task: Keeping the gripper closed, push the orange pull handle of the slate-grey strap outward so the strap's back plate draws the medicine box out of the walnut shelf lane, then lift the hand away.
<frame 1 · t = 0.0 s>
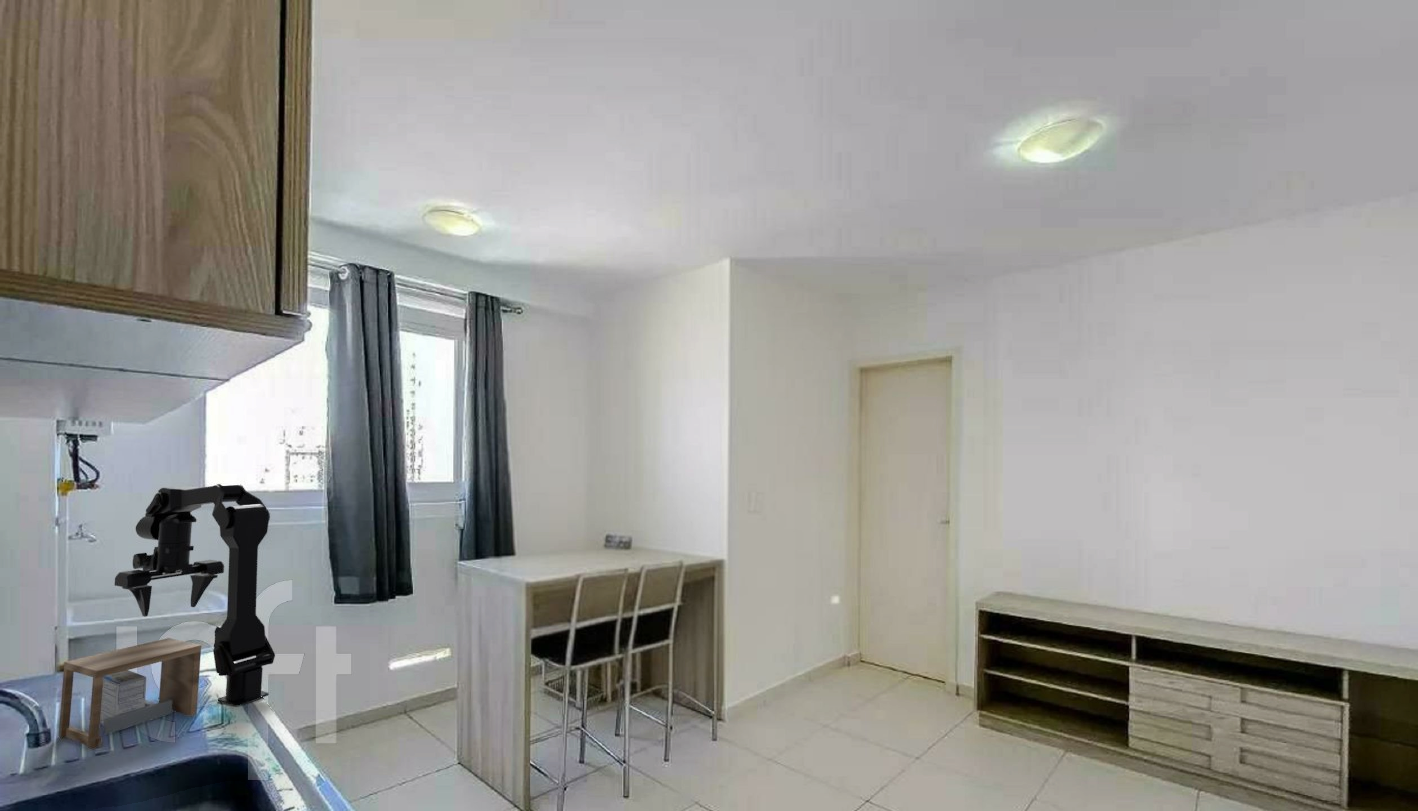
hand: (169, 611, 143), 15 cm above the counter, tool pointing down, fingers open, 9 cm apart
medicine box: (119, 724, 119), on the counter
walnut shelf: (123, 723, 119), on the counter
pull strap: (111, 696, 123), point 3 cm above the counter, slide at 0.0 cm
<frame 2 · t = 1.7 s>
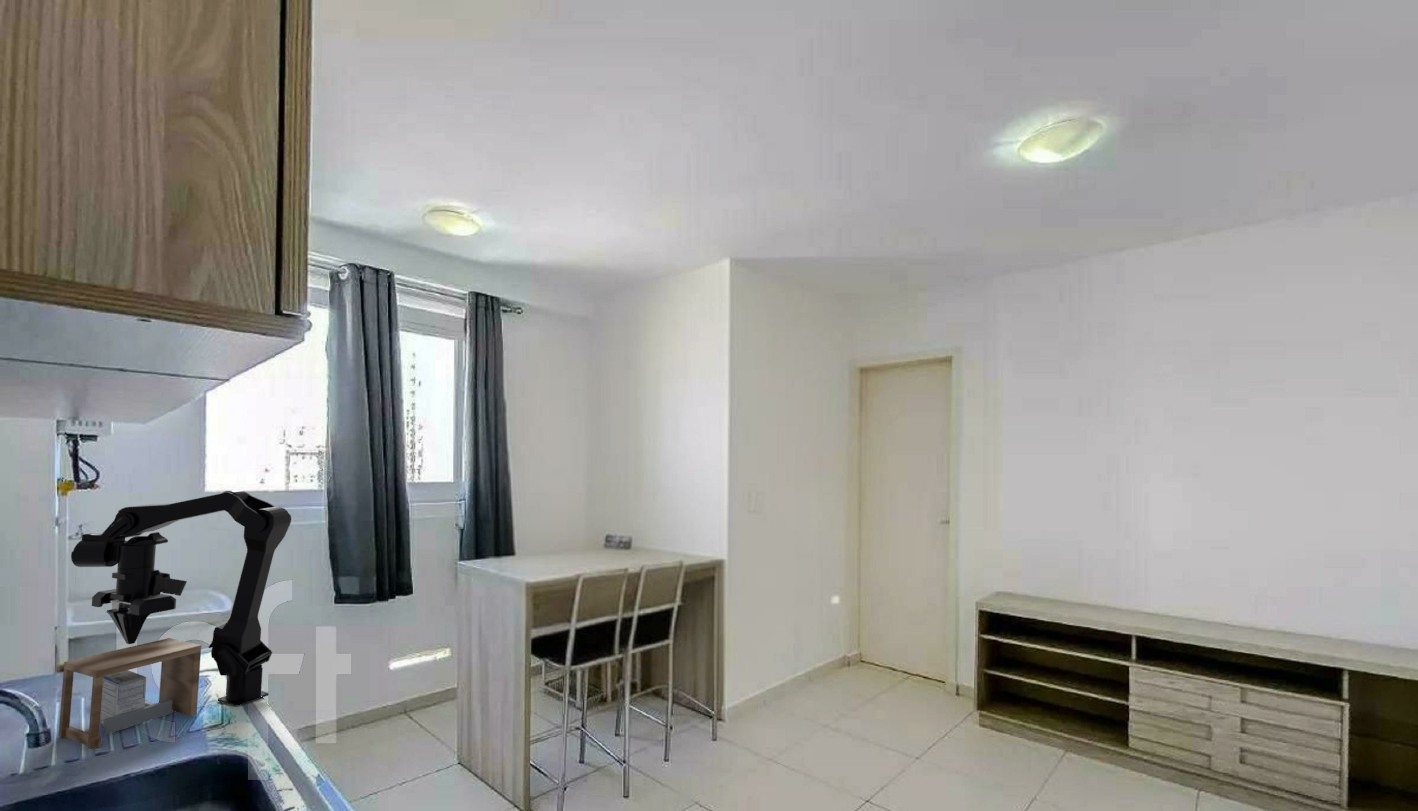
hand: (130, 643, 129), 12 cm above the counter, tool pointing down, fingers closed
nothing on the counter moved.
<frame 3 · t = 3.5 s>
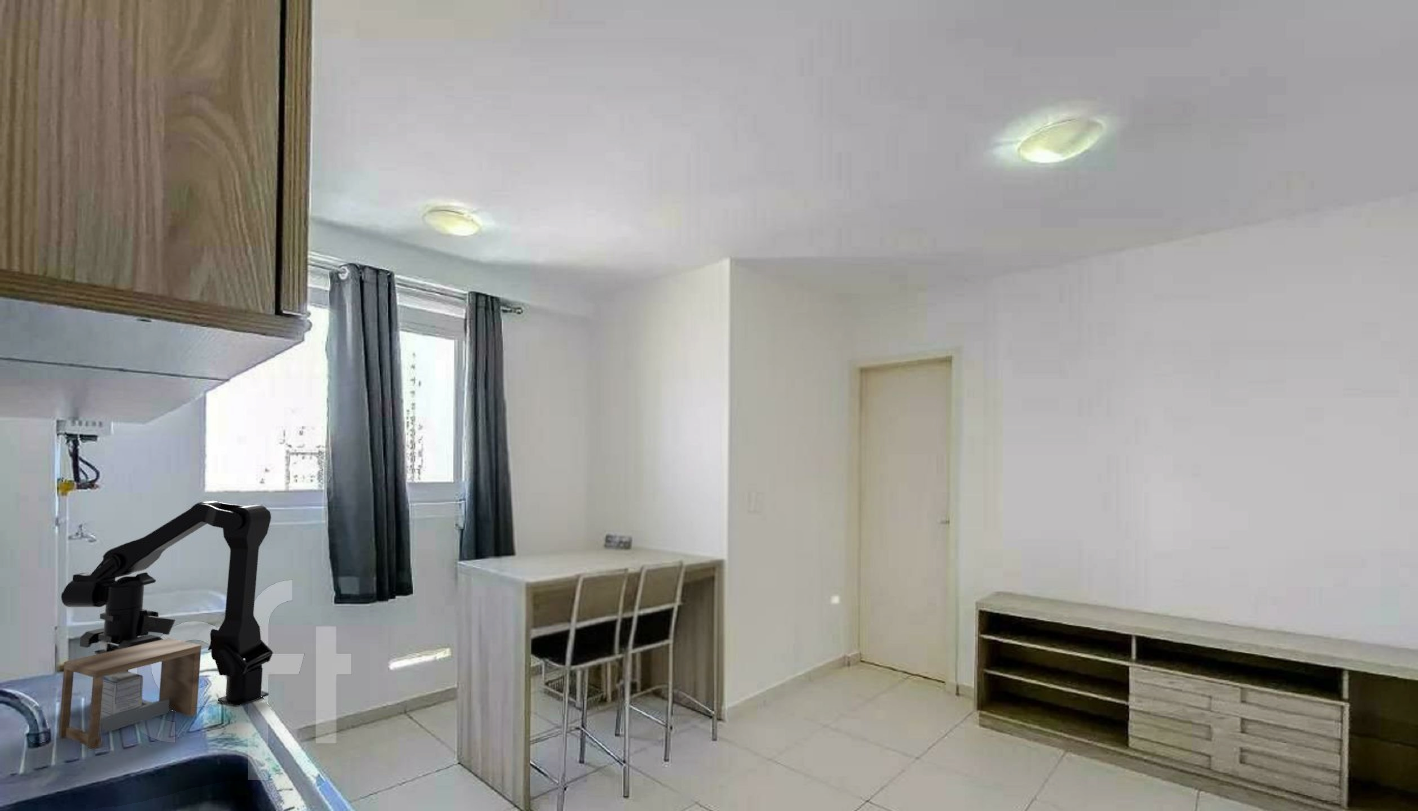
hand: (118, 684, 130), 3 cm above the counter, tool pointing down, fingers closed
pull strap: (108, 695, 123), point 3 cm above the counter, slide at 1.0 cm, touching gripper
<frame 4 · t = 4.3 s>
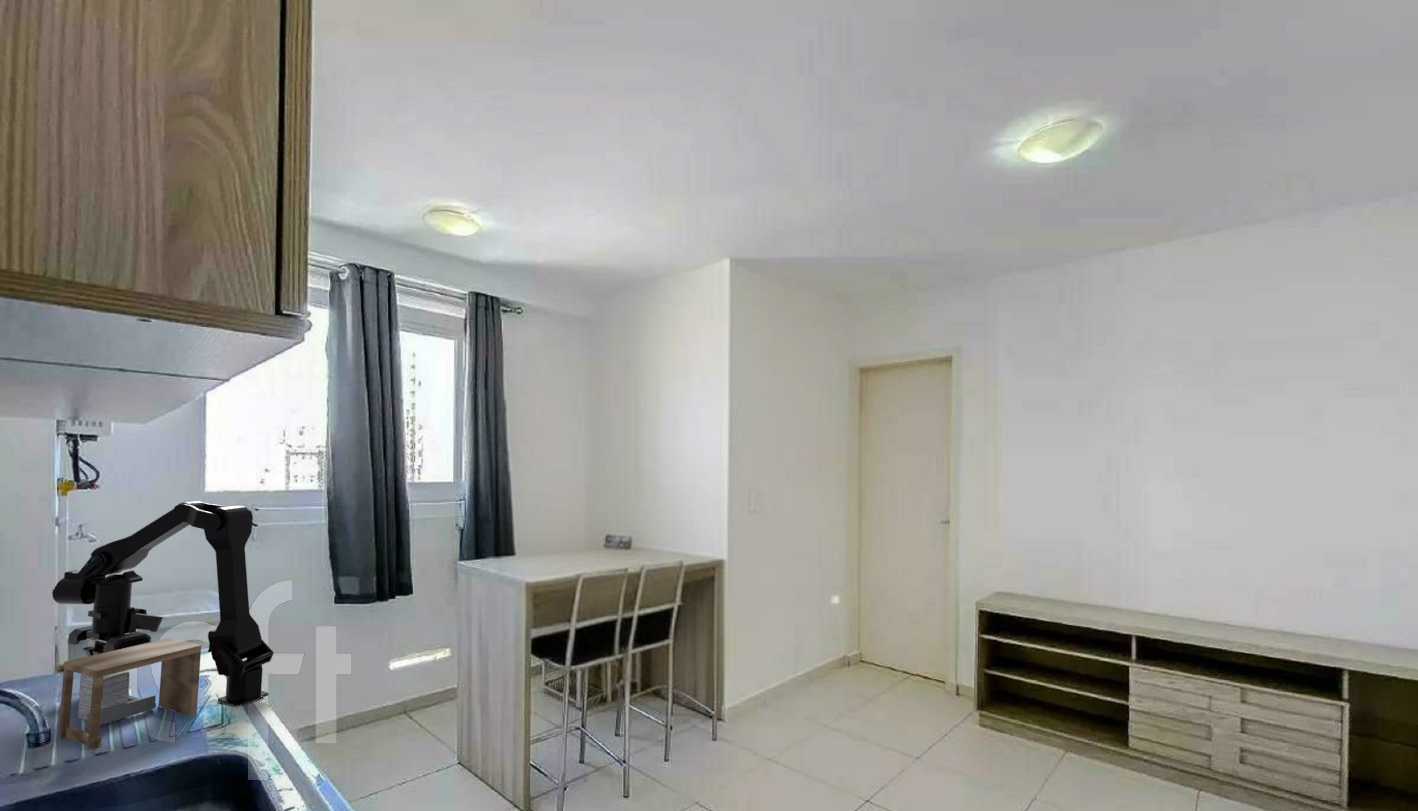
hand: (106, 680, 132), 3 cm above the counter, tool pointing down, fingers closed
medicine box: (102, 719, 121), on the counter, touching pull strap
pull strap: (95, 691, 125), point 3 cm above the counter, slide at 5.7 cm, touching gripper, medicine box
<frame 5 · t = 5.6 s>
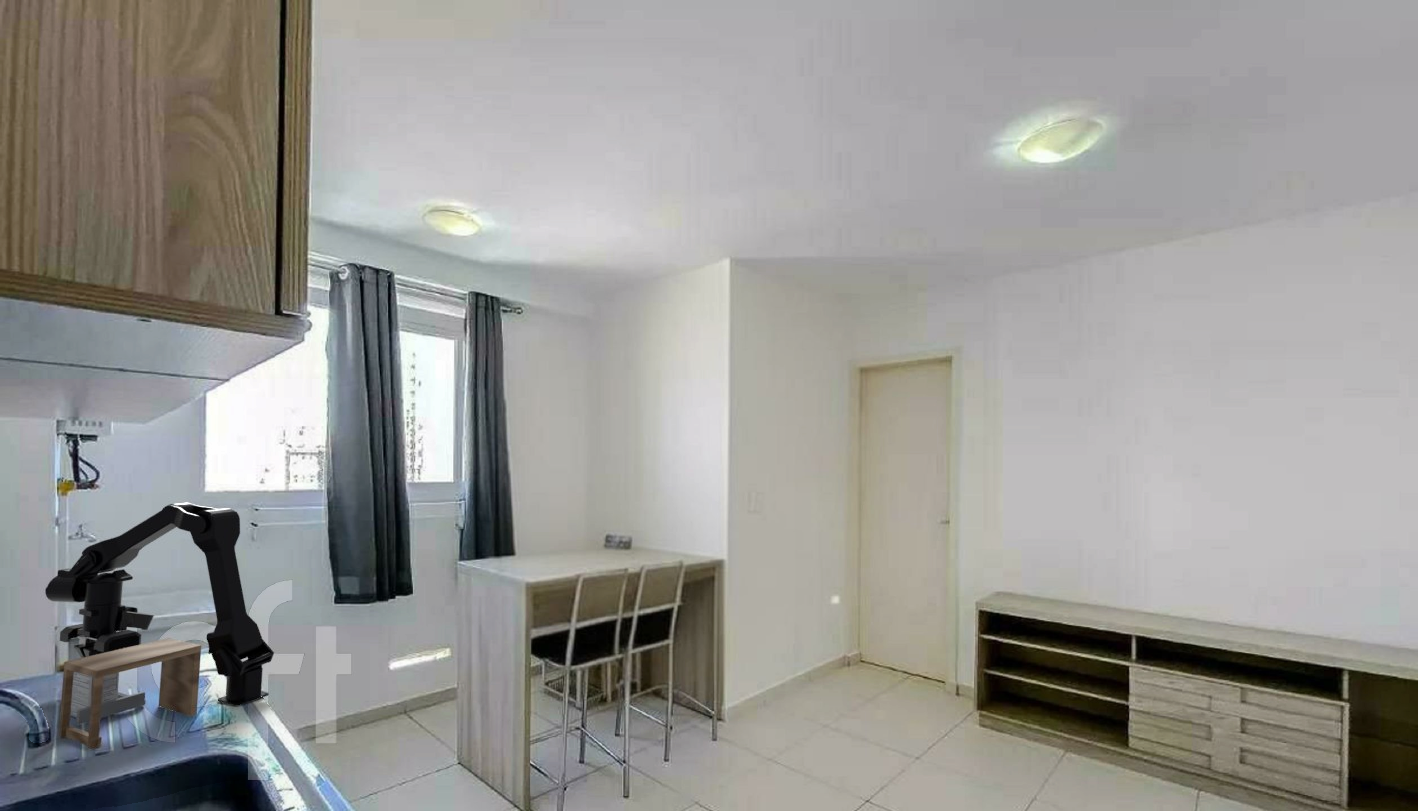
hand: (97, 677, 133), 3 cm above the counter, tool pointing down, fingers closed
medicine box: (91, 716, 122), on the counter, touching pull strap
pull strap: (86, 688, 127), point 3 cm above the counter, slide at 9.4 cm, touching gripper, medicine box
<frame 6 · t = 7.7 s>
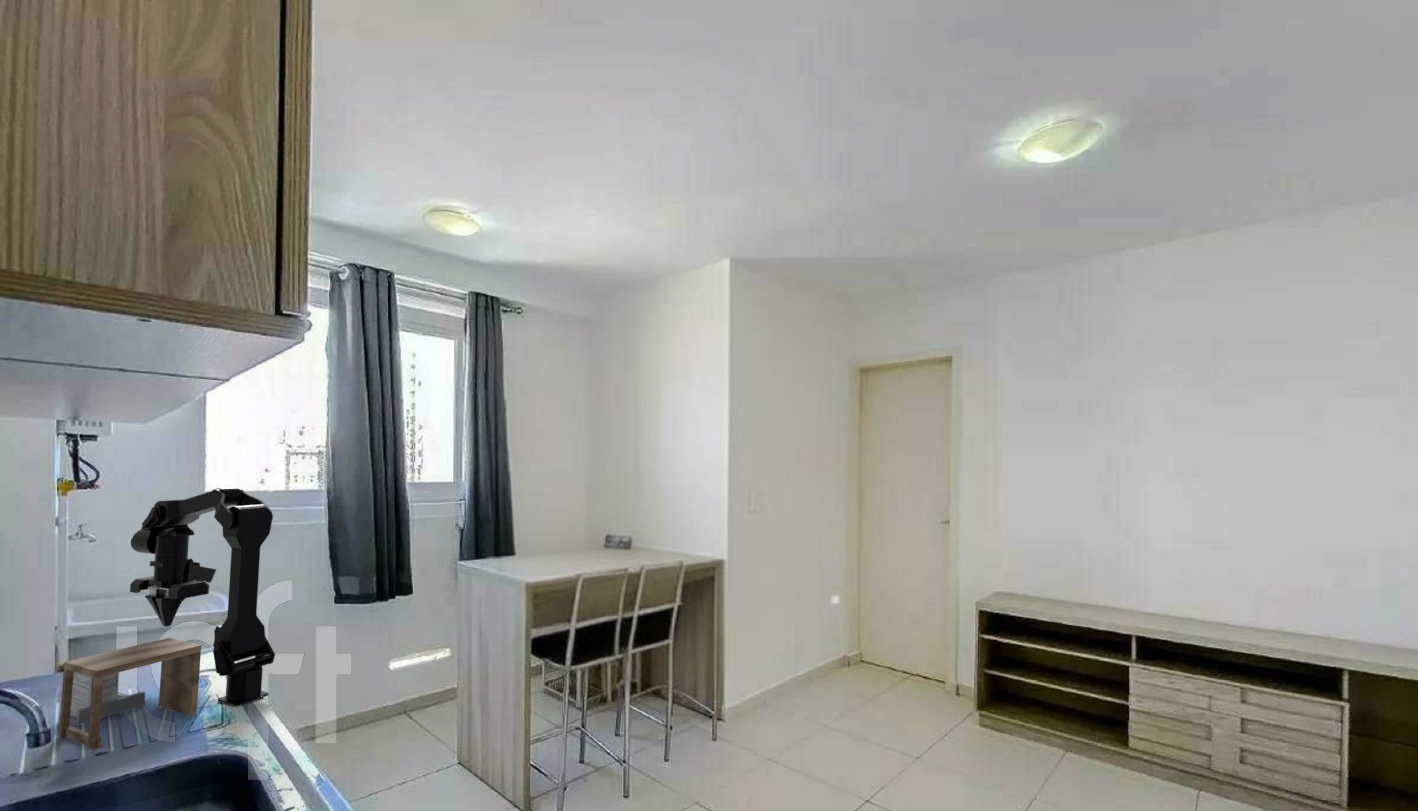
hand: (167, 626, 142), 12 cm above the counter, tool pointing down, fingers closed
medicine box: (91, 716, 122), on the counter
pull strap: (86, 688, 127), point 3 cm above the counter, slide at 9.4 cm
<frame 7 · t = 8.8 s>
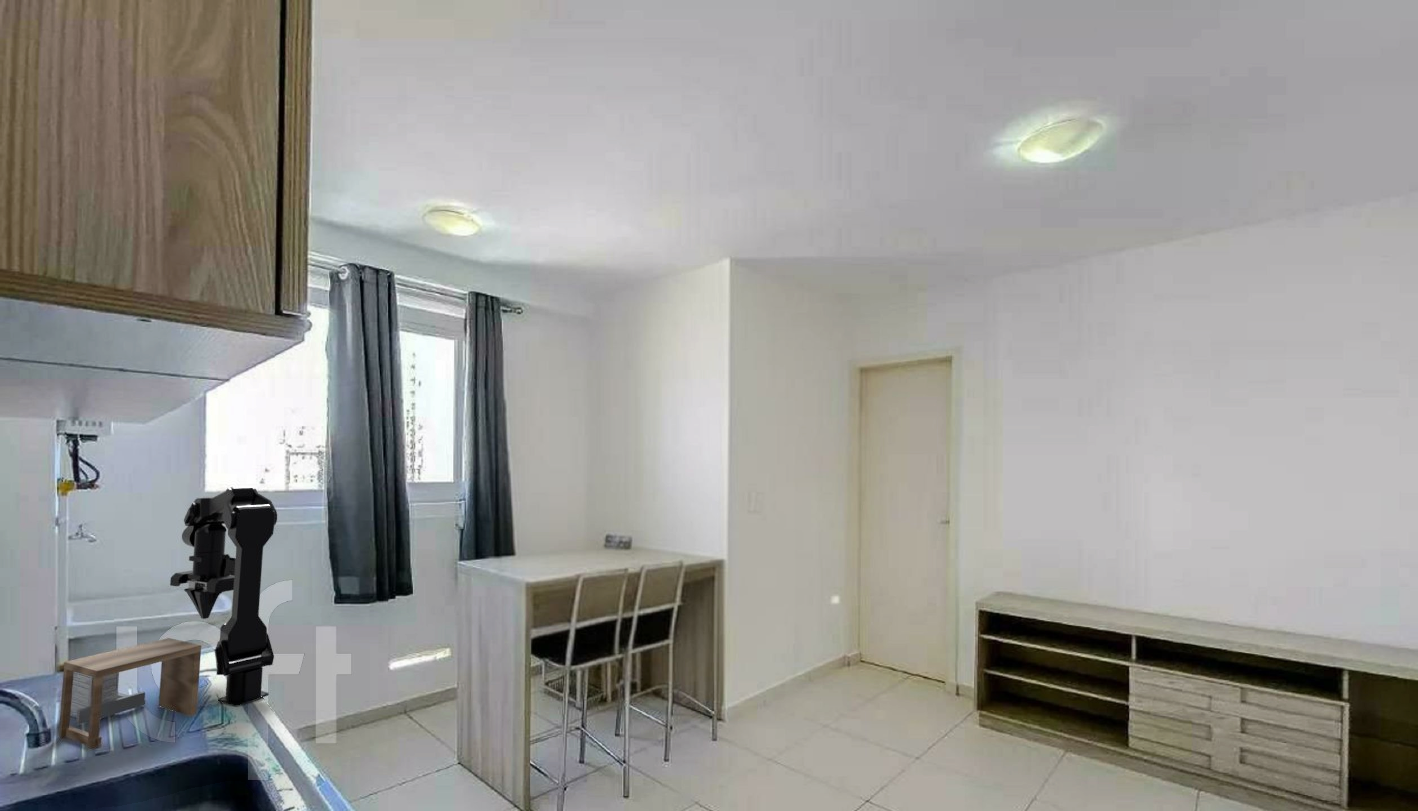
hand: (205, 618, 148), 12 cm above the counter, tool pointing down, fingers closed
nothing on the counter moved.
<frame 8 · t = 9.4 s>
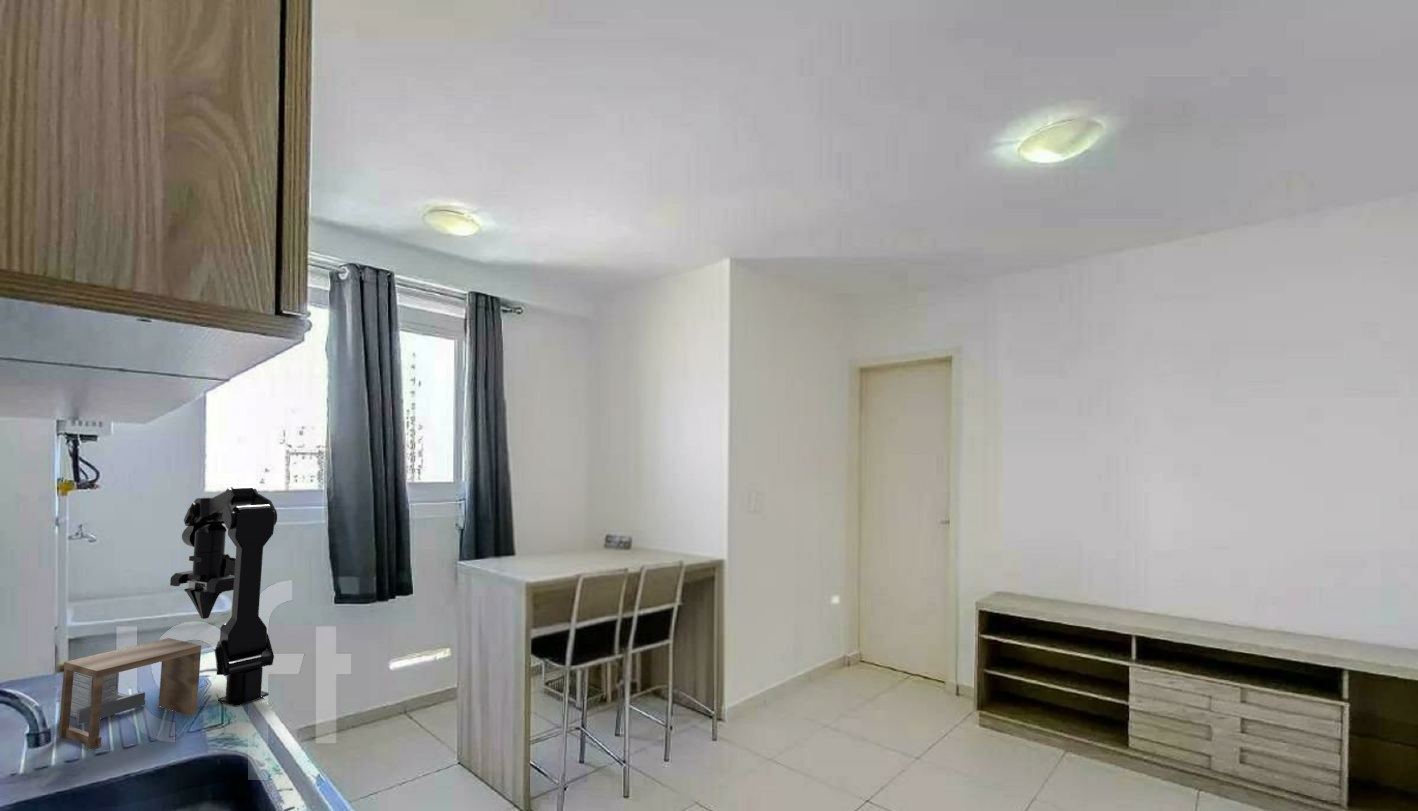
hand: (205, 618, 148), 12 cm above the counter, tool pointing down, fingers closed
nothing on the counter moved.
at the end: medicine box inside the target area (0.8 cm from its centre), on the counter; medicine box tilted 0°; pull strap slide at 9.4 cm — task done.
